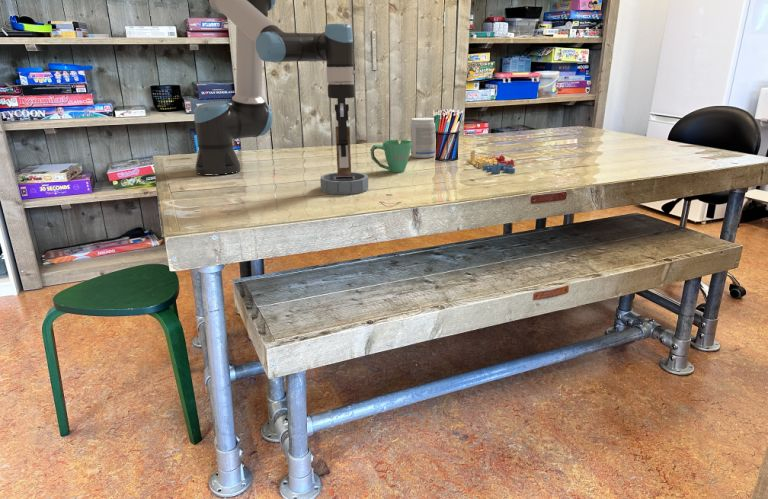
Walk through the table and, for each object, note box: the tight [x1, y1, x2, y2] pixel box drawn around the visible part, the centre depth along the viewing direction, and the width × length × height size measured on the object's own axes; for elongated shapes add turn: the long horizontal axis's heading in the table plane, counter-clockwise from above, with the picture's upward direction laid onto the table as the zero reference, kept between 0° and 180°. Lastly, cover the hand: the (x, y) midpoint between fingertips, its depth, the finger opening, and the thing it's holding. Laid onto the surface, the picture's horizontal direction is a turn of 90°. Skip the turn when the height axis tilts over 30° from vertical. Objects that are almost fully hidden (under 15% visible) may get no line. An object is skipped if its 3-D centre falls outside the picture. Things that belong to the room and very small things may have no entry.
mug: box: [370, 139, 412, 173], centre depth 184 cm, size 15×10×10 cm
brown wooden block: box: [335, 125, 352, 176], centre depth 158 cm, size 4×2×14 cm, turn 94°
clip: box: [334, 176, 355, 181], centre depth 161 cm, size 6×4×3 cm
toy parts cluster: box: [466, 149, 516, 175], centre depth 200 cm, size 45×14×5 cm, turn 12°
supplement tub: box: [410, 117, 436, 159], centre depth 211 cm, size 10×10×15 cm
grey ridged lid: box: [319, 171, 369, 196], centre depth 161 cm, size 14×14×4 cm
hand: (344, 166), depth 159 cm, fingers closed on brown wooden block, 2 cm apart
